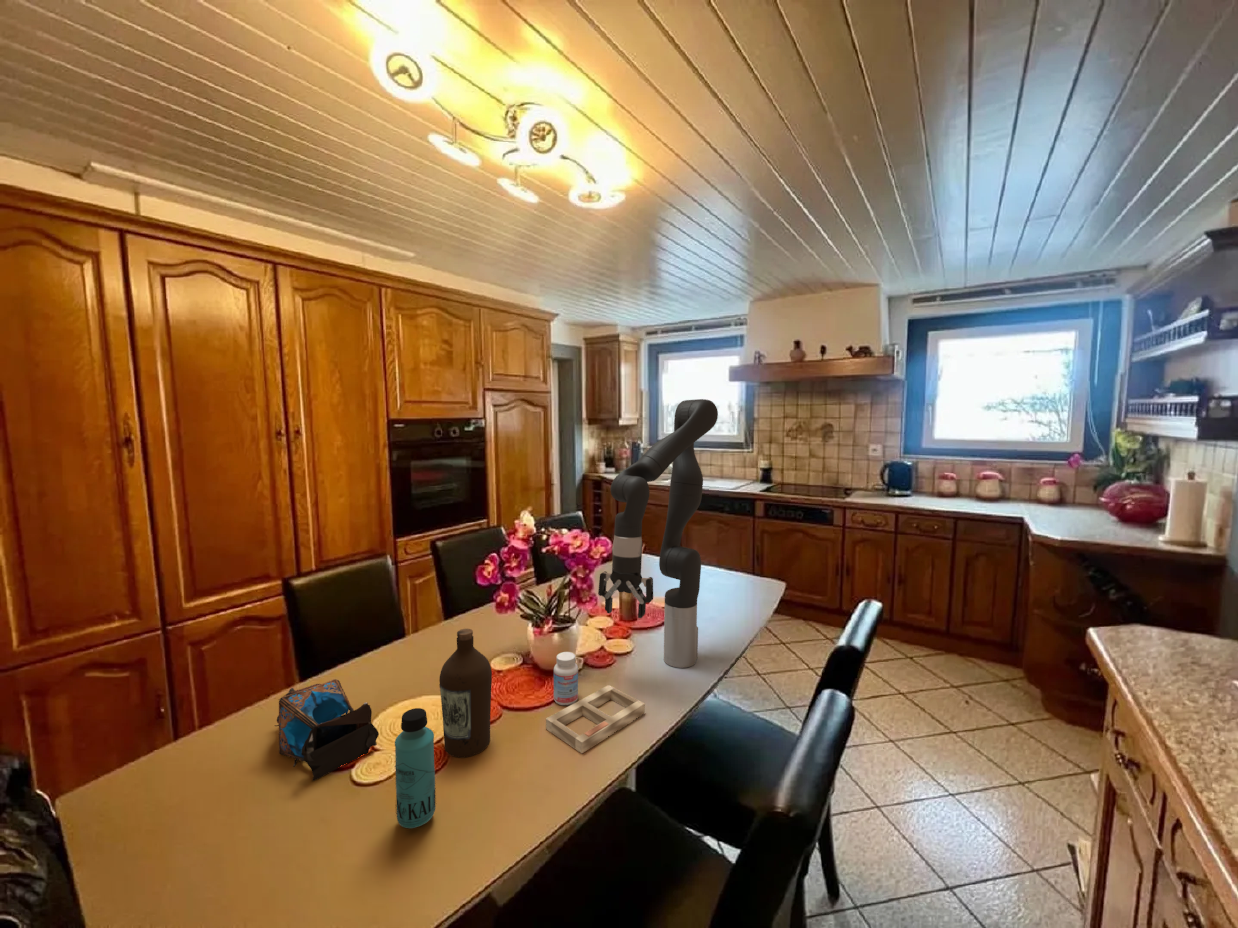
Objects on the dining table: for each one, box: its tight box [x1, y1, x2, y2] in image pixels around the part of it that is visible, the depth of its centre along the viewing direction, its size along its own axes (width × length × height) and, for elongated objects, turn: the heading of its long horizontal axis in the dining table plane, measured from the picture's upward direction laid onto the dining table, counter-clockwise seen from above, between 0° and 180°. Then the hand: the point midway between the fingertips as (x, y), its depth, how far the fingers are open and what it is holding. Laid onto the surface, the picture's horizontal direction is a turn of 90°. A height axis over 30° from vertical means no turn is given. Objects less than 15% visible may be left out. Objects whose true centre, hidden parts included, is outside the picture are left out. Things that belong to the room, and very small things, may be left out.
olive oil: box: [438, 628, 493, 758], centre depth 108 cm, size 11×11×25 cm
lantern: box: [274, 678, 380, 782], centre depth 108 cm, size 16×16×25 cm
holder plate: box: [545, 684, 646, 754], centre depth 118 cm, size 20×12×3 cm, turn 136°
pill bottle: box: [553, 651, 579, 706], centre depth 126 cm, size 6×6×11 cm
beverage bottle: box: [394, 707, 437, 829], centre depth 87 cm, size 6×7×20 cm
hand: (624, 614), depth 132 cm, fingers open, 8 cm apart
